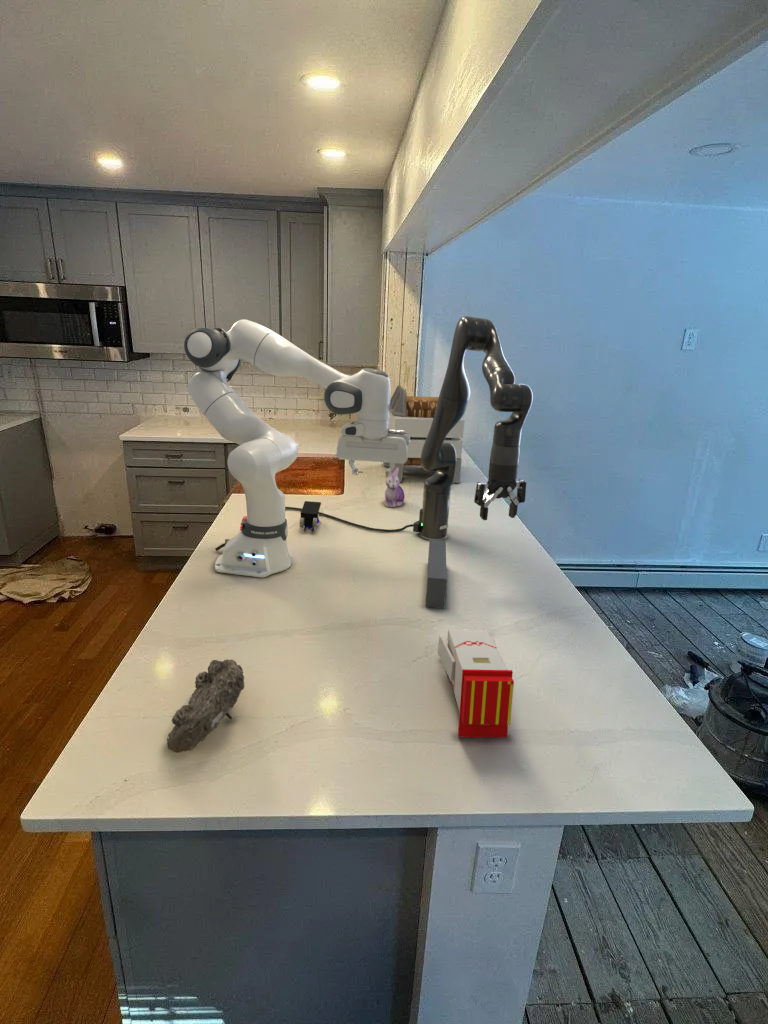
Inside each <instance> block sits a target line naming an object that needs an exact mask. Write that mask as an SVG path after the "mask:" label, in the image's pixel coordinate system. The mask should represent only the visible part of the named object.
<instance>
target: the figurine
mask: <svg viewBox="0 0 768 1024" xmlns="http://www.w3.org/2000/svg"><path fill="white" fill-rule="evenodd" d="M389 469H390V467H388V468H387V470H389ZM398 471H399V468H398V467H397V468H396V469H395V470H394V472H392V471H391V476H390V478H387V477H386V479H385V484H386V485H385V486H386V489H385V492H384V498H385V499H384V501H383V503H384V505H385V507H389V508H395V507H400V506H403V505H404V502H405V490H404V489H403V487H402V486H401V485H400V484H401V482H400V481H399V479H398V476H397V475H398Z"/></svg>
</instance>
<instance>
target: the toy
mask: <svg viewBox="0 0 768 1024" xmlns="http://www.w3.org/2000/svg"><path fill="white" fill-rule="evenodd" d="M446 640H447V643H446V641H445V639H444V636H443V635H442V634H439V637H438V646H437V656H438V657H439V659H440V661H441V663H442V666H443V668H444V670H445V672H446V674H447V677H448V679H449V681H450V684H451V687H452V690H453V693H454V697H455V701H456V705H457V708H458V711H459V714H458V715H459V716H458V730H457V731H458V732H457V737H458V738H508V731H509V726H510V725H511V717H512V707H513V697H514V696H513V695H514V684H515V680H514V679H513V673H514V671H513V670H512V669H508V667H507V665H506V662H505V661H504V659H503V658H502V655H501V653H500V651H499V649H498V647H497V643H496V639H495V637H494V635H493V634H491V632H490V631H489V629H467V628H466V629H465V628H463V629H461V628H460V629H459V628H448V630H447V639H446Z"/></svg>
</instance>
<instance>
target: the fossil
mask: <svg viewBox="0 0 768 1024" xmlns="http://www.w3.org/2000/svg"><path fill="white" fill-rule="evenodd" d="M243 670H244V669H243V667H242V665H240V664H237V662H236V661H235V660H234V659H232V658H231V659H227V658H226V659H224V660H223V661H222V660H217V659H212V660H211V661H210V663H209V665H208V666H207V671H201V672H199V673H198V674H197V675H196V676H195V680H194V684H195V685H194V687H195V689H194V690H193V693H192V694H191V697H190V698H189V700H188V704H184V705H182V706H181V707H180V709H177V710H176V711H175V713H174V715H173V716H172V718H171V723H172V724H173V727H172V730H171V731H170V732H168V734H167V738H166V741H167V742H166V745H167V749H168V750H169V751H173V752H174V753H176V754H178V753H182V752H188V751H189V752H192V751H193V750H195V748H196V747H197V746H199V744H200V743H201V742H203V741H204V740H205V739H206V738H207V737H208V736H209V735H210V734H211V733H212V732H214V730H215V729H217V727H218V726H219V724H220V722H221V721H222V720H223V719H224V718H225V716H226V717H227V719H229V720H233V717H232V715H230V714H229V710H230V709H231V708H234V706H235V704H236V703H237V702H238V699H239V697H240V695H241V693H242V691H243V690H245V689H244V688H245V675H244V671H243Z"/></svg>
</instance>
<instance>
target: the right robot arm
mask: <svg viewBox="0 0 768 1024" xmlns="http://www.w3.org/2000/svg"><path fill="white" fill-rule="evenodd" d="M467 351H473V352H483V353H484V354H485V357H484V358H483V359H482V362H481V371H482V375H483V377H484V379H485V381H486V383H487V385H488V389H489V402H490V406H491V408H492V409H494V410H495V411H496V412H499V413H511V414H510V416H509V417H508V418H505V419H501V420H499V421H496V423H495V424H494V427H493V435H492V445H491V448H490V455H489V457H490V458H489V466H488V473H487V474H488V479H487V482H481V481H478V482H476V487H475V493H474V499H473V502H474V503H475V504H476V505H477V506H479V517H480V519H481V520H483V521H488V516H489V515H488V514H489V506H490V505H491V503H492V502H494V501H495V500H496V499H502V498H503V499H507V498H508V500H509V501H510V503H509V507H508V517H510V518H511V519H515V518H516V516H517V513H518V508H519V507H518V506H519V505H520V504H521V503H522V504H523V503H525V501H526V493H527V482H526V481H524V480H523V479H520V478H519V479H518V480H517V478H518V473H519V463H520V455H521V452H520V451H521V450H520V449H521V440H522V439H521V438H522V430H523V428H524V425H525V422H526V420H527V418H528V414H529V412H530V410H531V407H532V405H533V400H534V395H533V391H532V388H531V387H530V386H529V385H528V384H525V383H516V376H515V374H514V371H513V370H512V367H511V366H510V365H509V363H508V361H507V359H506V357H505V355H504V352H503V348H502V345H501V341H500V337H499V334H498V331H497V327H496V326H495V324H494V323H493V321H492V320H490V319H488V318H482V317H475V316H468V315H466V316H465V315H463V316H462V317H460V318H459V319H458V321H457V323H456V325H455V328H454V333H453V337H452V343H451V348H450V353H449V357H448V358H449V359H448V364H447V368H446V371H445V375H444V378H443V382H442V386H441V389H440V392H439V396H438V397H439V399H438V403H437V407H436V411H435V414H434V418H433V421H432V424H431V427H430V430H429V433H428V435H427V438H426V440H425V443H424V446H423V448H422V452H421V465H422V466H421V467H422V469H423V470H424V471H426V472H428V473H429V472H430V473H431V472H432V473H433V472H434V473H433V474H432V475H431V476H429V477H428V478H426V479H425V480H424V482H423V493H422V496H423V497H422V506H421V508H420V509H419V516H418V520H417V521H415V522H413V523H410V524H406V525H405V526H403V527H401V528H396V529H395V528H394V529H387V528H386V529H385V528H376V527H370V526H366V525H362V524H358V523H355V522H351V521H348V520H346V519H342V518H339V517H337V516H333V515H331V514H327V513H324V512H320V511H319V516H320V515H321V516H324V517H327V518H330V519H333V520H335V521H338V522H342V523H345V524H346V525H351V526H354V527H358V528H361V529H365V530H369V531H374V532H385V533H395V532H402V531H404V530H406V529H408V528H411V527H412V531H413V532H415V533H417V535H418V536H420V538H421V539H424V540H426V541H430V540H442V541H445V540H446V539H447V538H448V528H449V517H450V516H449V514H450V504H451V494H452V493H451V491H452V486H453V484H454V483H453V481H454V474H455V467H456V450H455V448H454V446H453V445H452V444H451V443H443V442H444V439H445V437H446V436H447V434H448V433H449V432H450V430H451V429H452V428H453V427H454V426H455V425H456V424H457V423H458V422H459V420H460V419H461V418H462V419H463V417H464V415H465V413H466V411H467V408H468V404H469V400H470V398H471V388H470V387H471V386H470V383H469V380H468V377H467V374H466V372H465V367H464V363H465V362H464V361H465V354H466V352H467ZM515 489H516V494H515V492H514V490H515ZM302 508H303V507H295V506H294V507H293V506H285V510H293V511H301V510H302Z"/></svg>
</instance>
